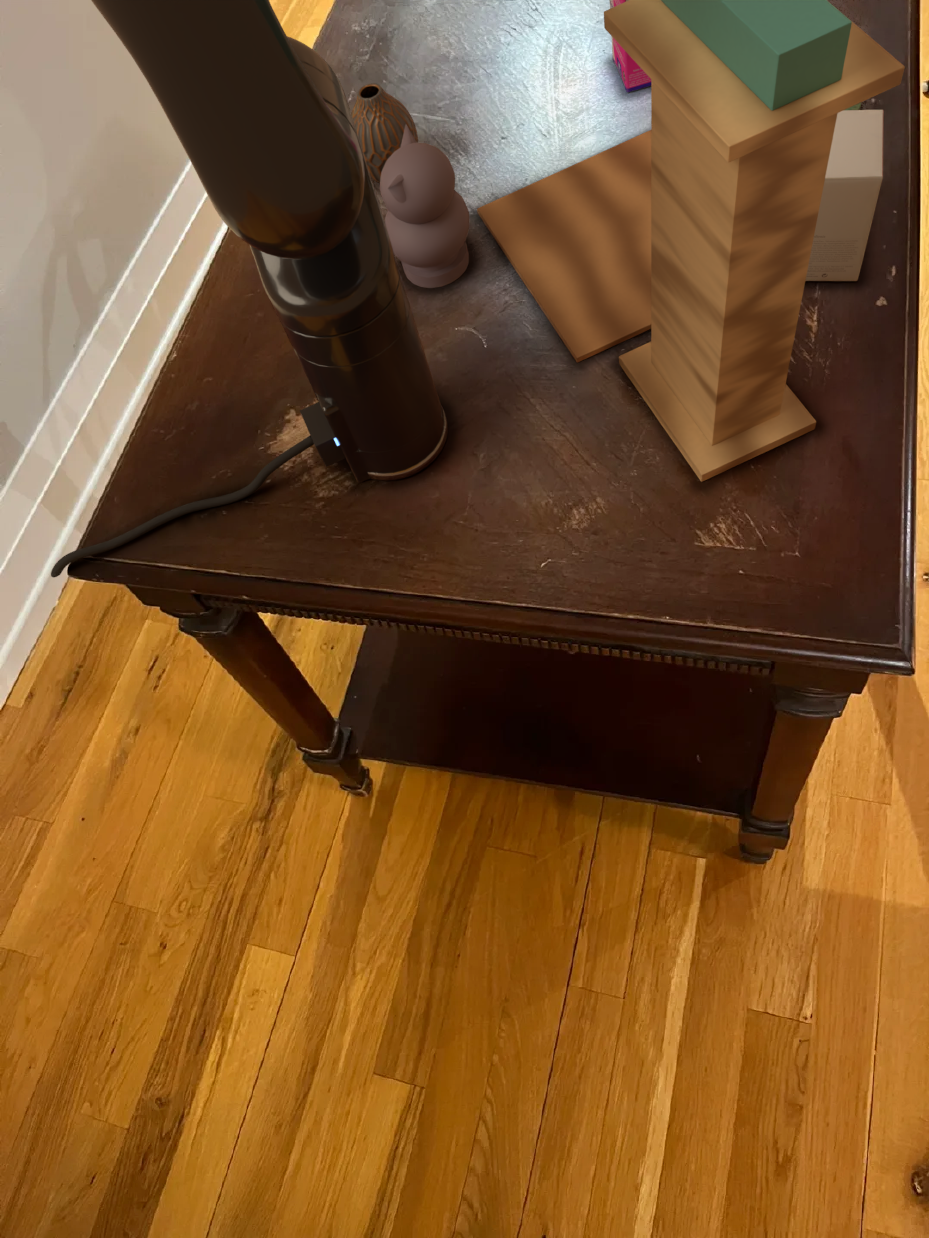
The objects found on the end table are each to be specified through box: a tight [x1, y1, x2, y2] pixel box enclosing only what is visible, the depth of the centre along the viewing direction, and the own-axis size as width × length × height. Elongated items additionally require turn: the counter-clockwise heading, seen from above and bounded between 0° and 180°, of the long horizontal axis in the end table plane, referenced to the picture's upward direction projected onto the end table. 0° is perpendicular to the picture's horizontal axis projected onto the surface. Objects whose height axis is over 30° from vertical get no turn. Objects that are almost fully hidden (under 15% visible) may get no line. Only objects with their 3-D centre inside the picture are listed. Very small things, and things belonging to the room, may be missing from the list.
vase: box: [351, 82, 419, 183], centre depth 93 cm, size 7×7×9 cm
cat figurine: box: [379, 124, 470, 289], centre depth 84 cm, size 8×8×12 cm
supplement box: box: [608, 0, 651, 93], centre depth 91 cm, size 6×6×12 cm
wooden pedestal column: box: [603, 0, 905, 483], centre depth 64 cm, size 10×14×30 cm
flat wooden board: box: [476, 129, 651, 363], centre depth 86 cm, size 20×22×1 cm
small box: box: [805, 109, 885, 282], centre depth 77 cm, size 8×6×10 cm
